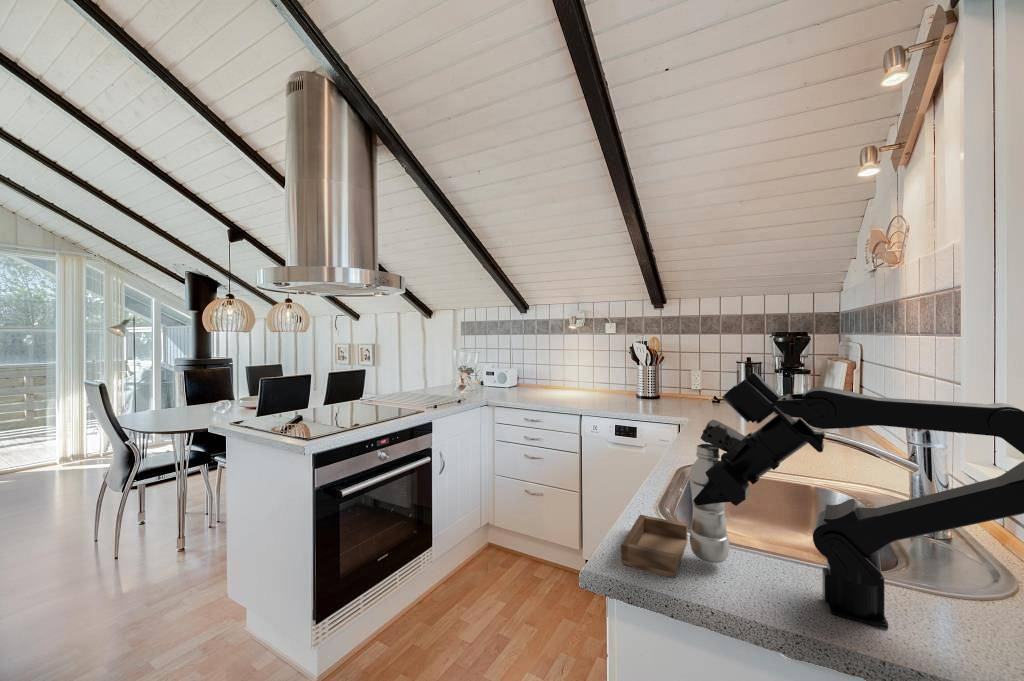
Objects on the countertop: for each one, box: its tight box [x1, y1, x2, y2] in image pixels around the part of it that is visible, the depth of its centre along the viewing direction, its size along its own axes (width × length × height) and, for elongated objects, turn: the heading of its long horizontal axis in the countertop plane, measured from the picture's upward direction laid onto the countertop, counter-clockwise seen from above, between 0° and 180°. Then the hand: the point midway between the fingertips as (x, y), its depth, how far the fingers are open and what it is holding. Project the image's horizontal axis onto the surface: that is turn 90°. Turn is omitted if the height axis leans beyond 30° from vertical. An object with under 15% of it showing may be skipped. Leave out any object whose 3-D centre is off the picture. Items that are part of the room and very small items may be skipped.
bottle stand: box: [620, 514, 688, 579], centre depth 80 cm, size 9×14×4 cm, turn 150°
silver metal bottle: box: [688, 443, 730, 564], centre depth 75 cm, size 6×7×20 cm
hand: (700, 496), depth 76 cm, fingers closed on silver metal bottle, 6 cm apart
